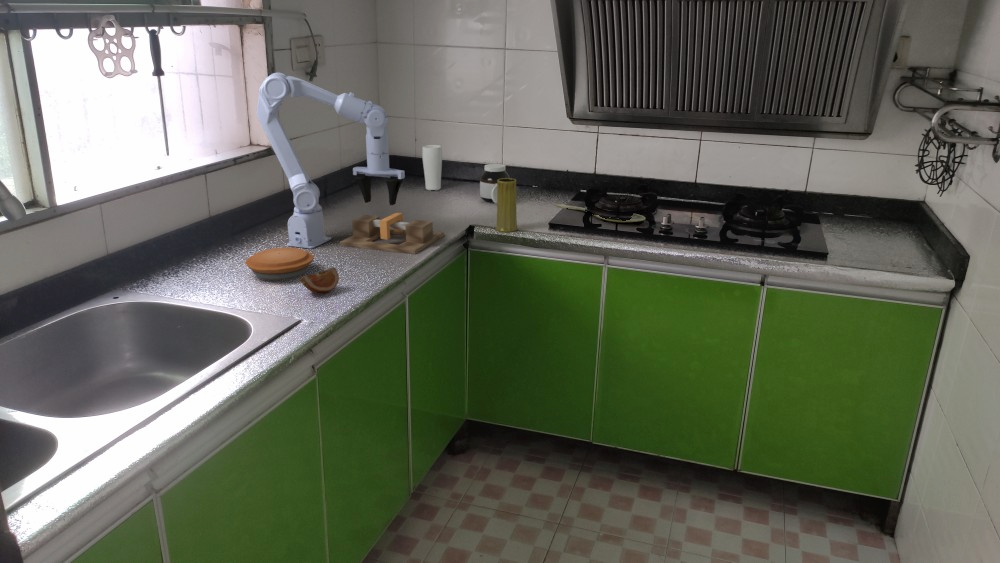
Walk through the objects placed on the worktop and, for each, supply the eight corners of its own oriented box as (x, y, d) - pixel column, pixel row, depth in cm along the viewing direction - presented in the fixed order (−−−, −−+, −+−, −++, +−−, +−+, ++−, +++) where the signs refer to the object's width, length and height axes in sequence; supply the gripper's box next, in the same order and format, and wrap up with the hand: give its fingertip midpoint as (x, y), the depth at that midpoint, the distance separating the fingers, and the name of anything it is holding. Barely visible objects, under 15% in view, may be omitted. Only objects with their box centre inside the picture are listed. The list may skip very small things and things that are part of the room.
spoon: (544, 213, 235) (544, 206, 235) (568, 208, 242) (568, 201, 241) (630, 228, 209) (630, 221, 209) (654, 222, 216) (654, 215, 215)
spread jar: (494, 196, 249) (494, 162, 245) (522, 201, 243) (522, 165, 239) (472, 203, 240) (472, 167, 236) (501, 208, 234) (501, 171, 230)
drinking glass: (421, 191, 257) (419, 147, 252) (426, 186, 263) (424, 144, 258) (440, 191, 256) (439, 148, 251) (444, 187, 262) (443, 145, 257)
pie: (282, 259, 185) (280, 240, 183) (328, 269, 177) (327, 249, 176) (232, 277, 172) (230, 257, 171) (280, 289, 165) (278, 267, 163)
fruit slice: (311, 301, 157) (309, 279, 156) (295, 293, 162) (293, 272, 160) (345, 291, 163) (343, 270, 161) (328, 284, 167) (326, 263, 166)
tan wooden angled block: (387, 239, 195) (386, 221, 193) (380, 238, 195) (379, 220, 194) (403, 230, 203) (402, 213, 201) (396, 230, 203) (395, 212, 202)
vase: (521, 229, 210) (522, 179, 205) (507, 233, 206) (507, 183, 201) (506, 225, 214) (506, 176, 209) (491, 229, 210) (491, 180, 205)
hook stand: (444, 235, 204) (443, 216, 202) (414, 254, 188) (413, 233, 186) (374, 228, 211) (372, 209, 210) (340, 245, 196) (338, 225, 194)
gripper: (409, 152, 195) (411, 202, 200) (361, 148, 200) (364, 197, 205) (396, 156, 189) (398, 208, 194) (347, 152, 194) (350, 203, 198)
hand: (380, 203), depth 199 cm, fingers open, 7 cm apart
